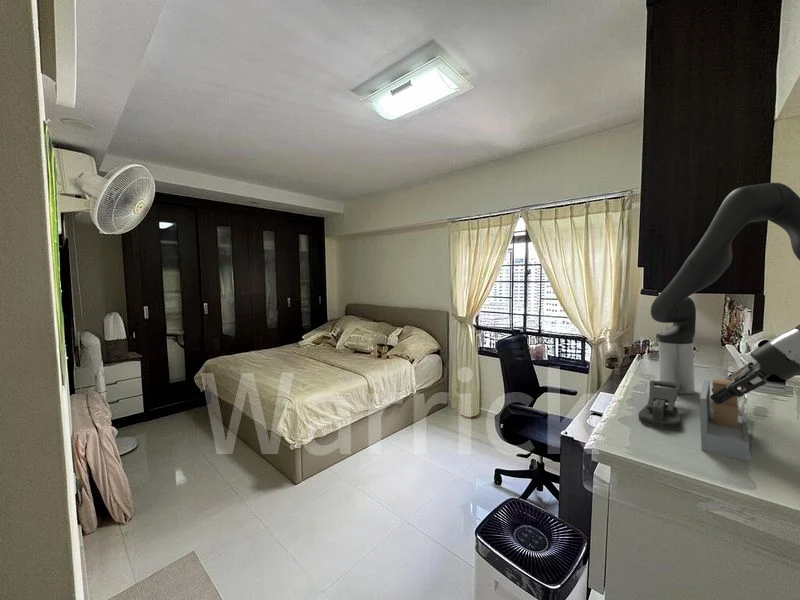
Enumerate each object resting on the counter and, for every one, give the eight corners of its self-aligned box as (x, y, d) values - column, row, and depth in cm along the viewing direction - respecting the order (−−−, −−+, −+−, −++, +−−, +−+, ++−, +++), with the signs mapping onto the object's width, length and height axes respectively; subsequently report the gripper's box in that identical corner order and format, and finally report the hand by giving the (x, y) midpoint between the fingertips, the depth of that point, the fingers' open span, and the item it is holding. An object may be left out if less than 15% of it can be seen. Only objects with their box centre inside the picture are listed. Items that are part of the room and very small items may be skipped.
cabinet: (714, 417, 80) (713, 377, 80) (742, 422, 76) (741, 381, 76) (713, 424, 76) (712, 382, 76) (743, 429, 73) (741, 386, 72)
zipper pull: (684, 383, 99) (679, 407, 81) (684, 404, 99) (680, 433, 81) (647, 379, 105) (636, 400, 87) (648, 399, 105) (636, 424, 87)
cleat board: (705, 424, 85) (704, 380, 84) (746, 432, 79) (745, 384, 79) (701, 450, 72) (699, 398, 72) (749, 461, 67) (748, 405, 67)
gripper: (767, 336, 75) (701, 377, 84) (773, 345, 66) (697, 391, 74) (804, 361, 72) (730, 401, 81) (816, 374, 62) (730, 419, 71)
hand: (714, 396), depth 77 cm, fingers open, 6 cm apart
